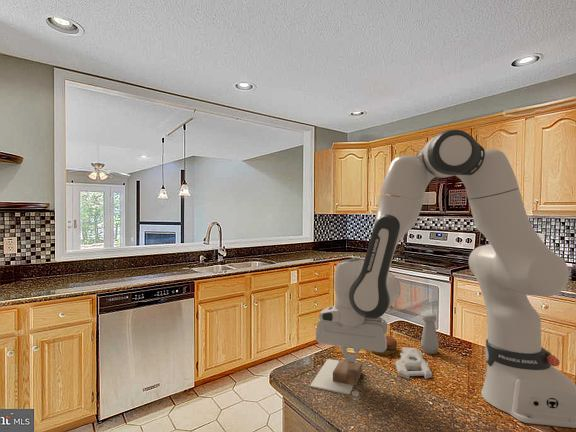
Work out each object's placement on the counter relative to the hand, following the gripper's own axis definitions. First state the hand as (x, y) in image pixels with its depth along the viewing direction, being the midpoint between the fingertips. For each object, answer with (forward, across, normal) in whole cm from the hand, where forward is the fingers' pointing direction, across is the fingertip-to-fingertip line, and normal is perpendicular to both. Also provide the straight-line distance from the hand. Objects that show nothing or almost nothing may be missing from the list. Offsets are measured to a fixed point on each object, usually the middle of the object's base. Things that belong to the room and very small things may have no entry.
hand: (350, 361), depth 94 cm
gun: (+5, -16, -14) cm, 22 cm away
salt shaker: (+5, -22, -28) cm, 36 cm away
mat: (+5, +4, 0) cm, 6 cm away
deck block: (+3, -2, 0) cm, 4 cm away
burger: (+5, -6, -24) cm, 25 cm away
